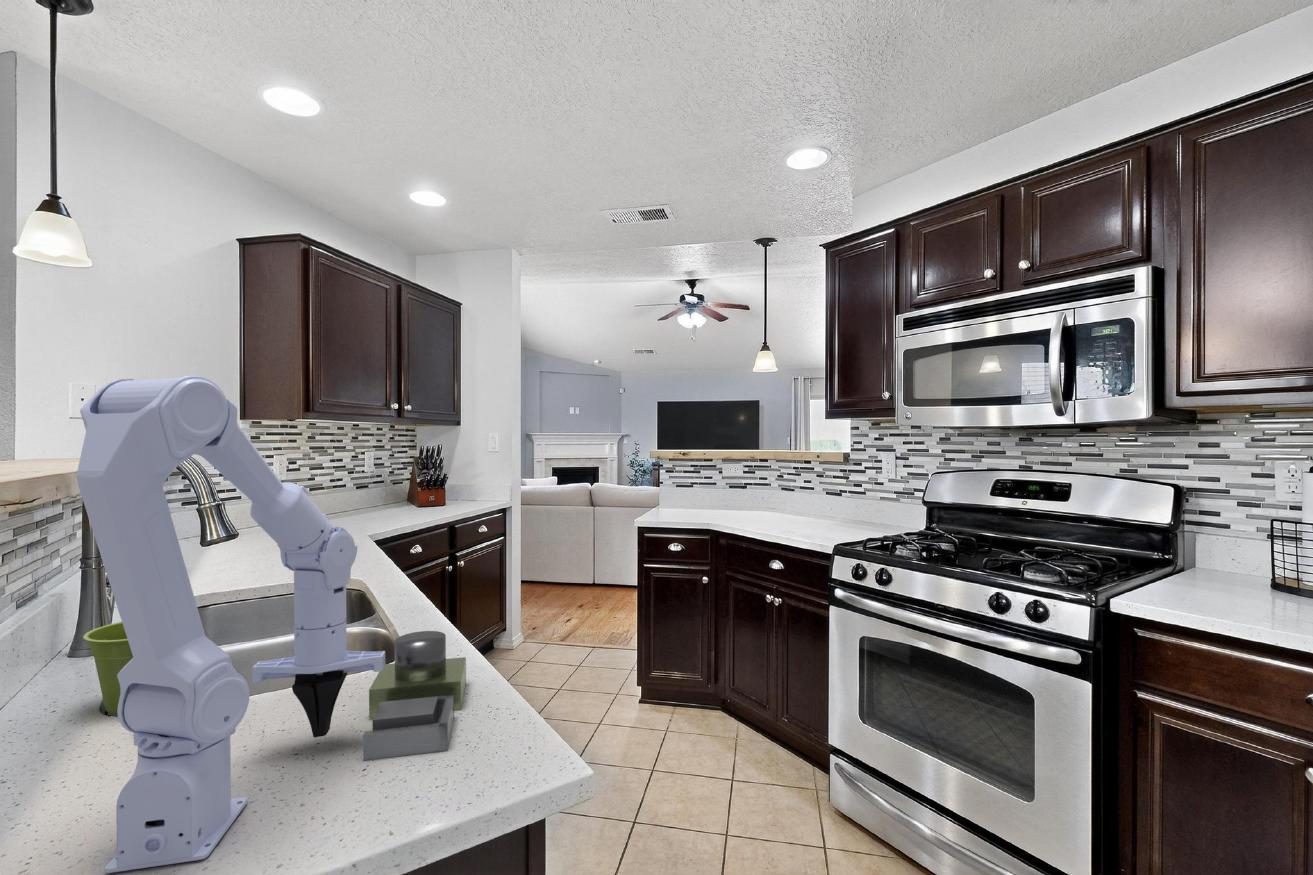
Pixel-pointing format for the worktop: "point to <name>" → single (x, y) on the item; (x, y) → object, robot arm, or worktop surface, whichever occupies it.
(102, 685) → the plant pot
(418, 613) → the worktop surface
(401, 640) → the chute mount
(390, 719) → the grey block
